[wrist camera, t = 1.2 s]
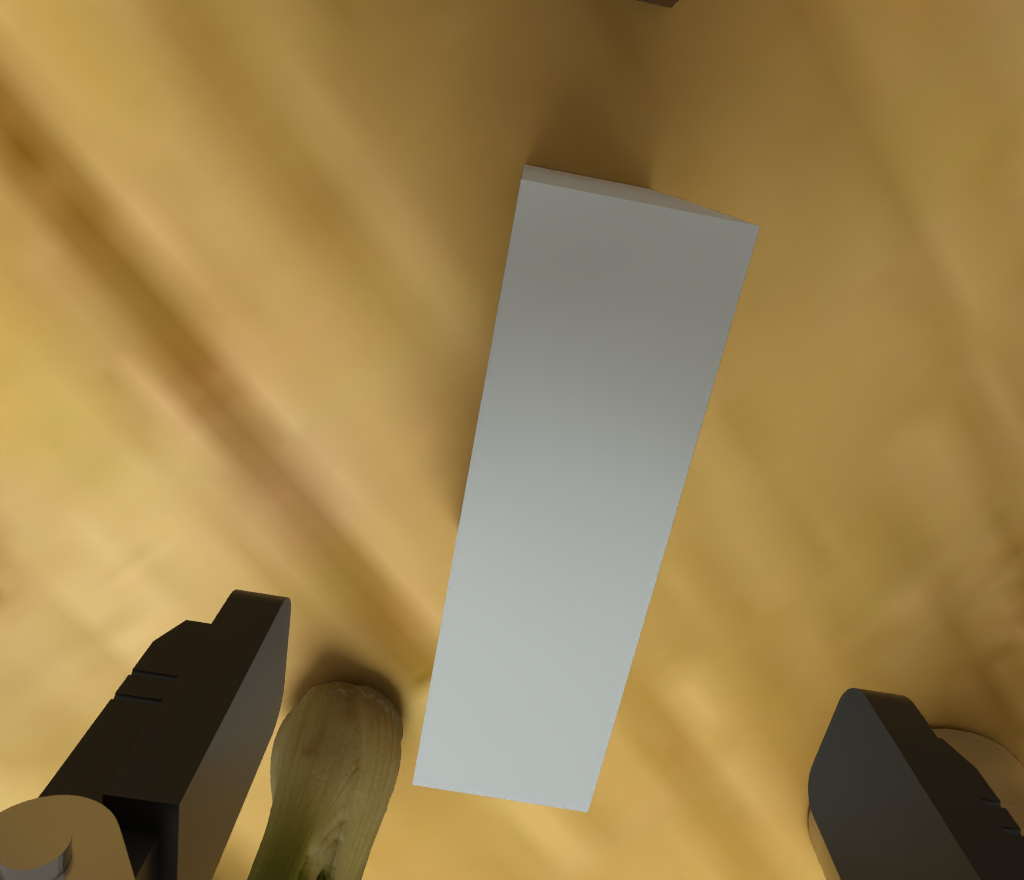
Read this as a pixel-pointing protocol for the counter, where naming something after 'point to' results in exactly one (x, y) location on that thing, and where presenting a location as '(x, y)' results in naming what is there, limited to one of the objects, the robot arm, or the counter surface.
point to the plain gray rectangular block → (574, 478)
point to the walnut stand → (662, 2)
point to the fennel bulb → (329, 784)
